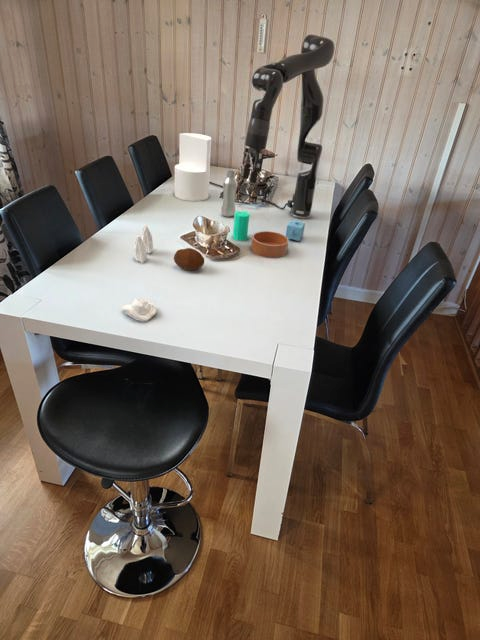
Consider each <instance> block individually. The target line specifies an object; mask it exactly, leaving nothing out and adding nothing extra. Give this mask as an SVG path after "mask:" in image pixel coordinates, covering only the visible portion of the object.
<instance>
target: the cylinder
mask: <svg viewBox="0 0 480 640" xmlns="http://www.w3.org/2000/svg"><path fill="white" fill-rule="evenodd" d="M178 148H179V152H178V153H179V155H178V157H179V158H178V160H179V161H178V163H176V164H175V165H174V196H175V197H176V198H177V199H180V200H183V201H189V202H199V201H200V202H201V201H206V200H207V199H209V196H210V183H209V182H210V176H211V175H210V174H211V173H210V172H211V154H212V137H211V136H209V135H206V134H202V133H195V132H194V133H192V132H181V133H179V147H178Z"/></svg>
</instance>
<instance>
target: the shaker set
mask: <svg viewBox="0 0 480 640" xmlns="http://www.w3.org/2000/svg"><path fill="white" fill-rule="evenodd" d="M140 235H141V236H140ZM152 235H153V234H151V231H150V228H149V227H148V225H147V224H144V225H143V228H142V232H141V234H137V235H136V237H135V240H134V242H133V243H134V244H133V247H134V256H135V261H136V262H140V263H141V264H144V263H145V261H147V254H151V253H153V252H154V244H153V236H152Z"/></svg>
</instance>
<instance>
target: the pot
mask: <svg viewBox="0 0 480 640" xmlns="http://www.w3.org/2000/svg"><path fill="white" fill-rule="evenodd" d="M289 241H290V240H288V238H287V237H286V235H285V234H282V233H280V232H277V231H269V230H263V231H257V232H255V233H253V234H252V236H251V244H250V245H251V247H250V249H251V251H252V253H254V254H256V255H258V256H260V257H262V258H263V257H264V258H271V259H273V258H275V259H276V258H281V257H285V255H287V253H288V247H289Z"/></svg>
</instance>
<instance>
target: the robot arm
mask: <svg viewBox="0 0 480 640" xmlns="http://www.w3.org/2000/svg"><path fill="white" fill-rule="evenodd" d="M335 50H336V49H335V43H334V41H333V40H332V39H330V38H329V37H325V36H321V35H318V34H312V33H310V34H307V35H306V36H305V37H304V39H303V42H302V44H301V50H300V53H296V54H291V55H288V56H286V57H284V58H282V59H281V60H278V61H277V62H273V63H269V64H265V65H262V66H260V67H258V68H257V69H256V70H255V71H254V72H253V74H252V77H251V84H252V87H253V89H255V90H256V91H258V92H261V93H264V95H263V97H262V98H257V99H254V101H253V102H252V106H251V112H250V117H249V121H248V125H247V129H246V134H245V135H246V136H245V142H244V146H246V147H245V148H244V154H243V158H242V161H241V164H242V165H243V166H242V167H243V170H242V178H243V179H246V180H248V179H249V183H251V184H256V183H257V179H258V173H260V172H262V168H263V163H264V156H265V153H263V152H261V150H266V149H267V143H268V138H269V133H270V128H271V127H270V126H271V119H272V115H273V109H274V107H275V104H276V102H277V100H278V98H279V96H280V93H281V91H282V89H283V86H284V84H286V83H288V82H290V81H291V80H293V79H295V78H296V77H298V76H300V75H301V90H300V91H301V92H300V93H301V94H300V105H299V133H298V139H297V140H298V141H297V149H296V160H297V162H298V163H300V164H304V165H307V166H311V167H310V168H308V169H304V170H300V171H298V172H297V174H296V178H295V179H296V180H295V186H294V193H293V194H292V198H291V199H289V200H287V202H286V203H284V205H283V207H280V206H279V205H277V204H276V203H274V202H272V201H270V200H267V199H265V198H261V197H259V198H260V199H259V200H260V201H264V202H266V203H267V204H268V203H269V204H271V205H273V206H275V207H276V208H278V209H280V210H285V209H286V207H287V208H289V209H290V211H289V212H290V215H291V216H292V217H293V218H296V219H302V220H306V219H310V218H311V215H312V214H311V213H312V209H313V203H314V196H315V192H316V186H317V180H318V175H319V171H320V165H321V161H322V156H323V153H324V152H323V151H324V149H323V145H322V144H320V143H316V142H311V141H308V137H309V135H310V133H311V132H312V131H313V129H314V127H316V125H318V124H319V121H320V120H321V119H322V116H323V113H324V112H323V111H324V100H325V99H324V95H323V92H322V89H321V86H320V83H319V82H318V79H317V74H316V70H317V69H320V68H324V67H326V66H328V65H329V64H330V63H331V61H332V59H333V58H334V55H335ZM250 171H251V172H250ZM249 177H250V178H249ZM209 184H211V185H214V186H217V187H219V188H223V185H221V184H218V183H215V182H213V181H209Z"/></svg>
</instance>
